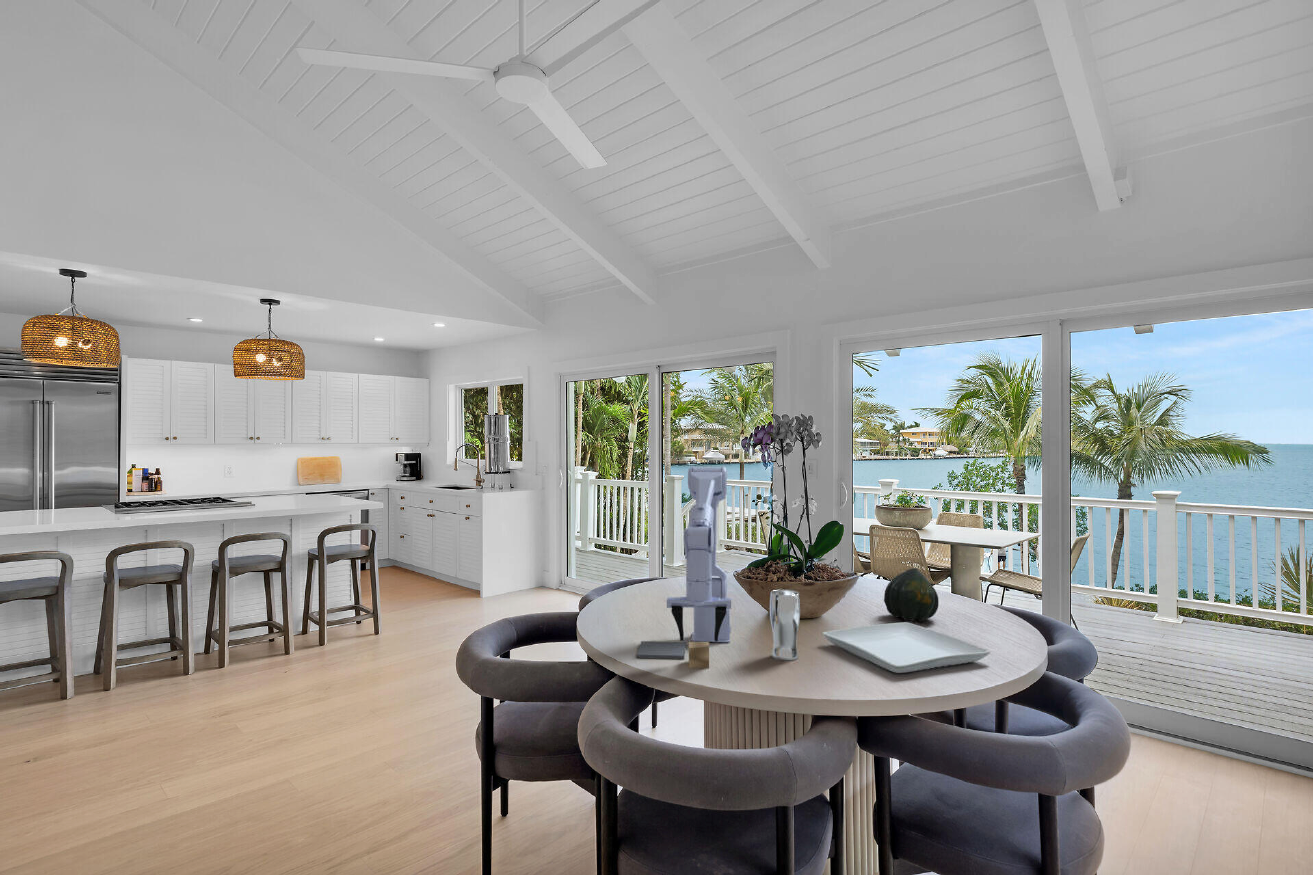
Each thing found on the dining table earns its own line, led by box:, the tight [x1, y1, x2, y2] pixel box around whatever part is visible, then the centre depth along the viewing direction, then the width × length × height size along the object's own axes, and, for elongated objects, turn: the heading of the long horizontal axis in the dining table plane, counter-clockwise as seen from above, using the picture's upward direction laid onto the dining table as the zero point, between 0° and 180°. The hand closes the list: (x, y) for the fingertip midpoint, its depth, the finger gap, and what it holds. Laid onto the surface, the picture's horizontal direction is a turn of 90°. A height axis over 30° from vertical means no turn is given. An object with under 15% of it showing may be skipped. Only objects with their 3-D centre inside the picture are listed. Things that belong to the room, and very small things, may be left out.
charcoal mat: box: [636, 640, 686, 660], centre depth 160 cm, size 11×11×1 cm
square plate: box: [822, 621, 991, 674], centre depth 157 cm, size 27×27×4 cm
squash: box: [883, 567, 939, 623], centre depth 190 cm, size 14×15×15 cm
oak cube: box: [688, 641, 710, 669], centre depth 150 cm, size 4×4×4 cm
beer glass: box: [769, 589, 801, 662], centre depth 156 cm, size 7×7×15 cm
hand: (698, 639), depth 150 cm, fingers open, 7 cm apart
